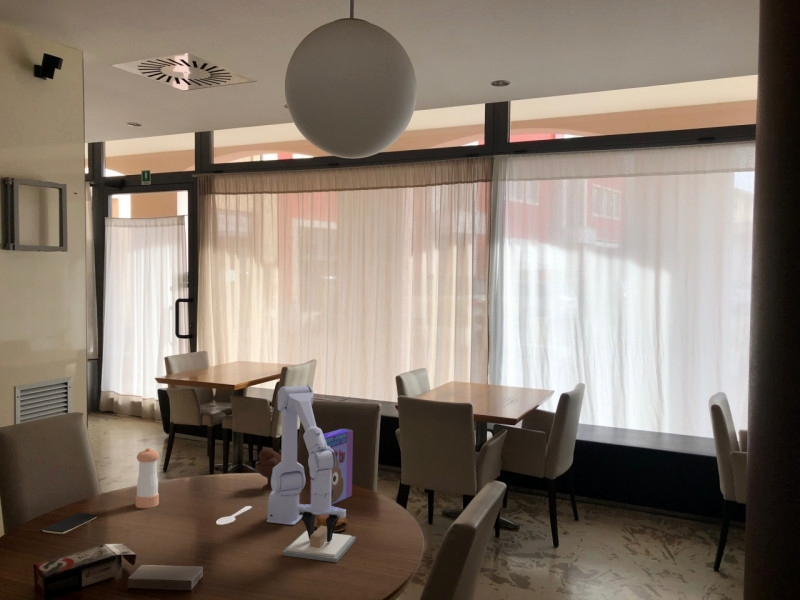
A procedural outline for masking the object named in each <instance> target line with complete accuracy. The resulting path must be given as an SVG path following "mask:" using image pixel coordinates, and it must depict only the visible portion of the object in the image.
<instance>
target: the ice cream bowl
mask: <svg viewBox="0 0 800 600" xmlns="http://www.w3.org/2000/svg"><path fill="white" fill-rule="evenodd" d="M257 457H258V459H259V460H258V461H256V462H255V466H254V467H255V469H256V472H257V473H258V474H259V475H261V476H262V477H264V478H266V480H267V483H266V484H264V485H262V489H261V490H263V491H268V492H269V491H273V490H272V487H271V477H272V471H273V468H274V467H275V466H276V465H277V464H279V463H280V462H281V454H279V452H277V451H275V450H273V448H271V447H269V448H268V447H267V448H263V449H262V450H261V451H259V453H258V456H257Z"/></svg>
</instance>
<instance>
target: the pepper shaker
mask: <svg viewBox="0 0 800 600" xmlns="http://www.w3.org/2000/svg"><path fill="white" fill-rule="evenodd" d="M159 458H160V454H159V452H158V451H157V450H154V449H151V448H149V447H146V448H145V449H144V450H141V451H140V452H138V453H137V456H136V460H137V462H138V463H139V464H138V477H137V484H136V495H135V508H137V509H151V508H154V507H156V506H158V505H159V504H160V494H159V480H158V474H157V473H158V472H157V467H158V466H157V465H158V462H157V460H158V459H159Z"/></svg>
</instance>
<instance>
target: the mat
mask: <svg viewBox="0 0 800 600" xmlns="http://www.w3.org/2000/svg"><path fill="white" fill-rule="evenodd" d="M306 531H307V530H305V531H303V532H302V533H301V534H300V535H299V536H298V537H297V538H296V539H295V540H293V541H292V542H291V543H290V544H289V545H288V546H287V547H286V548H285V549H283V550H282V556H284V557H294V558H301V559H308V560H316V561H317V560H318V561H325V562H331V563H338V562H339V560H340V559H341V558H342V557H343V556H344V555H345V554H346V552H347V551H348V550H349V549H350V548H351V546H352V545H353V544H354V543H355V542H356V541H357V540H356V539H357V538H356V536H352V535H351V536H352V538H351V539H350V540H349V541H348V542H347V543H346V545H345V546H344V547H343V548H342V549H341V550H340V551H339V553H338V554H337V555H336V556H335V557H332V556H325V555H317V554H309V553H302V552H294V551H287V548H288V547H290V546H291V545H292V544H293V543H294V542H295V541H296V540H297V539H298V538H299V537H300V536H302V535H303V534H304V533H305V532H306Z"/></svg>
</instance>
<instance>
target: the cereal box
mask: <svg viewBox="0 0 800 600" xmlns="http://www.w3.org/2000/svg"><path fill="white" fill-rule="evenodd" d="M323 435H324V438H325V441H326V443H327V446H330V448H331V449H332V450H333V451H334V454H335V458H336V464H335V467H334V469H331V470H332V483H331V506H334V505H336V504H338V503H340V502H343V501H344V500H348V499H349V498H351V497H353V453H354V452H353V451H354V450H353V449H354V448H353V447H354V441H353V440H354V430H353V429H348V428H339V429H335V430H333V431H329V432H326V433H323ZM309 476H310V475H309ZM309 478H310V481H309V483H310V486H309V504H311V480H312V477H311V476H310V477H309Z"/></svg>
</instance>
